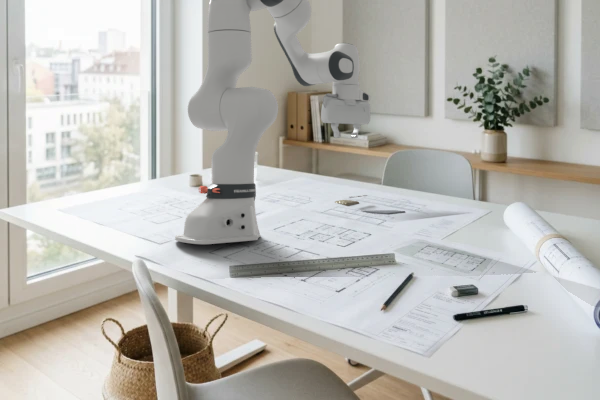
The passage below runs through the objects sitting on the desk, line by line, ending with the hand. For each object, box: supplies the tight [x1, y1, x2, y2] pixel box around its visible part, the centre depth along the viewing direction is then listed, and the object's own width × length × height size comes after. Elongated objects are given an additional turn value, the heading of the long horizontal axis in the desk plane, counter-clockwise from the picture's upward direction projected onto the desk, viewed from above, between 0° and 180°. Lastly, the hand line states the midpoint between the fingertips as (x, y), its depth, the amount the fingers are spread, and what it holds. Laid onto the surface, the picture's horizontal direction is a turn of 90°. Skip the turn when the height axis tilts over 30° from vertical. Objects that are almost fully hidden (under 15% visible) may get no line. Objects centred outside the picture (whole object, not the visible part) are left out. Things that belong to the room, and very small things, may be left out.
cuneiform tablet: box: [334, 194, 368, 207], centre depth 198 cm, size 7×4×12 cm
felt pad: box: [362, 209, 406, 215], centre depth 188 cm, size 9×10×1 cm
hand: (346, 137), depth 197 cm, fingers open, 7 cm apart
